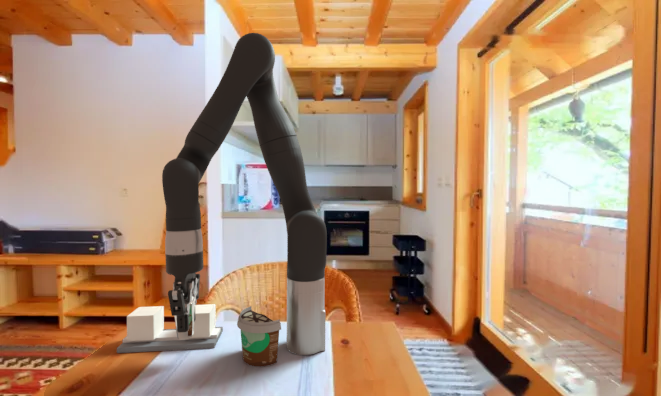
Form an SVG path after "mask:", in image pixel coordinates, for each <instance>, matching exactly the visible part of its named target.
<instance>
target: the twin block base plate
mask: <svg viewBox="0 0 661 396" xmlns="http://www.w3.org/2000/svg"><path fill="white" fill-rule="evenodd" d="M216 311H217V310H216V304H215V303H213V304H210V303H209V304H196V305H195V317H196V320H195V321H194V334H193V336H192V337H190V338H188V339H184V340H180V339H178V338H177V333H176V328H169V329H168V328H167V329H165V323H164V322H165V306H164V305H158V306H154V305H152V306H139V307H137V308H135V309H134V310H133V311H132V312H131V313H129V314H128V315H126V336H125V337H123V339H122V343H120V345H118V346H117V347H116V353H117V354H126V353H128V354H129V353H143V352H147V353H148V352H161V351H162V352H163V351H164V352H165V351H179V350H182V351H183V350H199V349H215V347H216V346H217V345H218V342H219V339H220V338H221V336H222V333H223V330H224V328H223V327H224V326H216V323H217V321H216V318H217V317H216V315H217V313H216Z"/></svg>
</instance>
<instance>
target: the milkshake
mask: <svg viewBox="0 0 661 396" xmlns="http://www.w3.org/2000/svg"><path fill="white" fill-rule="evenodd" d="M196 294H197V293H195V296H196ZM195 296H194V297H193V296H192V301H191V302H190V303H189V313H188V314H189V330H188V331H187V332H178V331H177V316H174V323H175V329H176V333H177V338H178V339H180V340H184V339H188V338H190V337H192V336H193V334H194V310H195ZM187 298H188V297H187ZM187 298H184V299H187ZM179 309H181V307H179Z"/></svg>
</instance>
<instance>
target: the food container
mask: <svg viewBox="0 0 661 396" xmlns="http://www.w3.org/2000/svg"><path fill="white" fill-rule="evenodd" d="M236 323H237V324H236V325H237V328H238V329H239V330H240V340H241V350H242V351H241V352H242V361H243V363H244V364H246V365H248V366H250V367H256V368H257V367H259V368H260V367H267V366H272V365H274V364H276V363H278V351H279V337H280V330H282V324H281V320H280V319H276V320H272V319H270V317H268V316H267V315H266V314H263V313H258V312H256V311H254V310H252V305H251V306H248V307H246V308H244V309H242V310H241V311H240V313H239V315H238V318H237V322H236Z"/></svg>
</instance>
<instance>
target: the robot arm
mask: <svg viewBox="0 0 661 396" xmlns="http://www.w3.org/2000/svg"><path fill="white" fill-rule="evenodd" d="M275 53H276V52H275V48H274V46H273V44H272V42H271V41H270V39H268V37H266V36H265V35H263V34H261V33H258V32H249V33H246V34H244V35H242V36H241V37H240V38H239V39H238V40H237V41H236V44H235V45H234V49H233V51H232V55H231V56H230V59H229V61H228V64H227V66H226V69H225V71H224V73H223V74H222V77H221V79H220V80H219V83H218V84H217V86H216V88H215V90H214V92H213V94H211V97H210V98H209V100H208V101H207V103H206V105H205V106H204V108H203V110H202V111H201V112H200V114H199V115H198V117H197V118H196V120H195V121H194V123H193V125H192V126H191V128H190V129H189V131H188V133H187V135H186V137H185V140H184V145H183V147H182V148H181V150H180V152H179V153H178V154H177V156H176V158H173V159H171V160H169V161H168V162H167V163H166V164H165V166H164V167H163V168H162V169H163V170H162V174H161V175H162V176H161V178H162V179H161V184H162V191H163V197H164V204H165V239H164V249H165V251H164V252H165V253H164V254H165V272H166V274H168V275H170V276H174V281H173V283H172V289H171V290H168V293H167V296H168V302H169V307H170V312H171V313H170V314H171V316H173V317H175V316H177V331H178V332H187V331H188V330H189V314H188V313H189V303H190V302H191V301H192V296H193V297H194V296H195V293H197V294H196V296H195V305H197V303H198V302H197V300H199V297H200V283H201V282H200V280H201V274H200V272H201V271H202V270H203V269H204V245H203V244H204V240H203V239H204V238H203V233H202V218H201V217H202V215H201V207H200V205H199V203H200V202H199V199H200V198H199V186H200V182H201V180H202V178H203V176H204V175H205V173H206V171H207V169H208V167H209V165H210V163H211V161H212V159H213V157H214V156H215V155H216V153H217V152H218V151H219V149H220V148H221V146H222V144H223V143H224V141H225V140H226V138H227V136H228V135H229V133H230V131H231V128H232V126H233V125H234V122H235V121H236V118H237V115H238V114H239V111H240V110H241V107H242V105H243V104H244V101H245V100H246V99H247V100H248V103H249V107H250V109H251V110H250V111H251V115H252V120H253V124H254V128H255V133H256V137H257V140H258V143H259V147H260V151H261V155H262V157H263V161H264V164H265V166H266V169H267V171H268V173H269V176H270V178H271V180H272V182H273V184H274V187H275V189H276V191H277V193H278V196H279V198H280V202H281V205H282V210H283V214H284V221H285V225H286V234H287V237H286V238H287V242H286V243H287V249H286V250H287V253H286V254H287V259H286V349H287V350H288V352H289V353H292V354H295V355H299V356H310V355H313V354H317V353H319V352H323V351H324V352H325V351H326V309H325V279H326V278H325V270H326V266H327V250H328V249H327V244H328V243H327V242H328V240H327V238H328V236H327V235H328V233H327V232H328V231H327V227H326V226H327V225H326V223H325V222H324V220H323V219H322V218H321V216H319V214H318V212H317V211H316V209H315V206H314V204H313V201H312V198H311V195H310V193H309V189H308V184H307V177H306V170H305V169H306V167H305V163H304V158H303V154H302V153H303V152H302V150H301V147H300V146H301V145H300V143H299V138H298V137H297V133H296V130H295V127H294V125H293V123H292V122H291V120H290V118H289V116H288V115H287V113H286V111H285V110H284V107H283V106H282V104H281V102H280V98H279V96H278V92H277V88H276V84H275V78H274V67H275V62H276V54H275ZM187 297H188V298H187ZM184 298H187V299H184ZM179 307H181V309H179ZM195 320H196V317H195V310H194V321H195Z"/></svg>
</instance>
